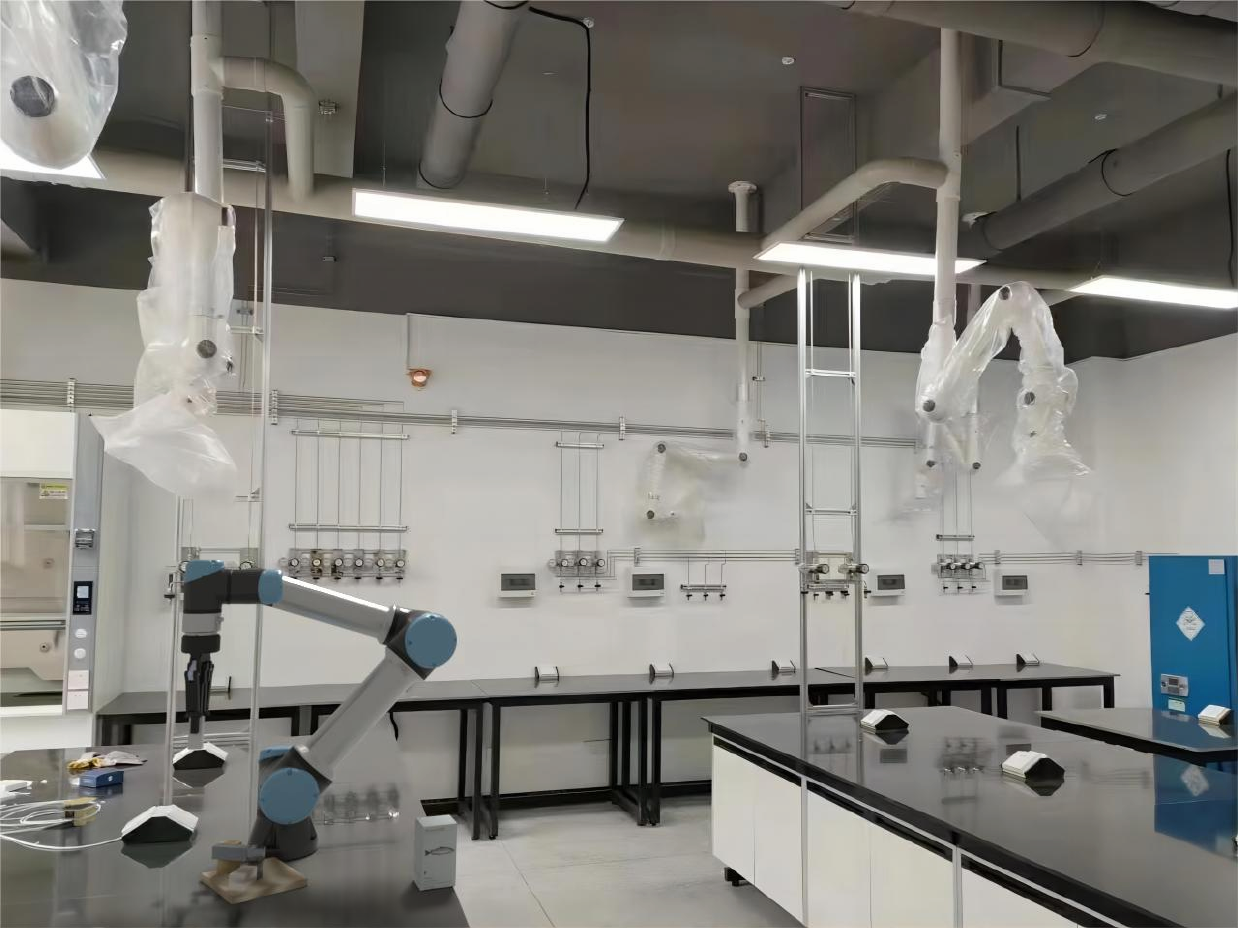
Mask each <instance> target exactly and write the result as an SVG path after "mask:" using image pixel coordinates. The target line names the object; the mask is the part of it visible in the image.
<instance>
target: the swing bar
mask: <svg viewBox="0 0 1238 928" xmlns="http://www.w3.org/2000/svg"><path fill="white" fill-rule="evenodd" d="M265 848H266V846H265V845H261V844H257V845H247V844H242V845H238V844H221V843H219V842H218V843H215V844H214V845H212V846H211V860H217V859H218V860H234V861H241V862H245V863H247V862H248V863H258V862H262V861H264V860H265Z"/></svg>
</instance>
